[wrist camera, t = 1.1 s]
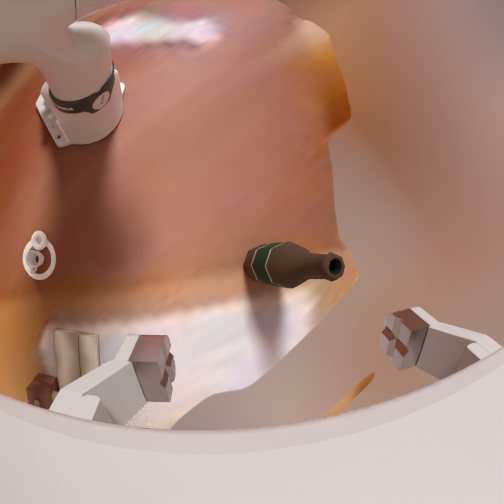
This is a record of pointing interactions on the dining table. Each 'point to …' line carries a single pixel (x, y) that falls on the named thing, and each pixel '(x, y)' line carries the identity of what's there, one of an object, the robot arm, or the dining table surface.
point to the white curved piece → (30, 256)
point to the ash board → (75, 354)
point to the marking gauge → (42, 391)
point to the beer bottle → (290, 265)
